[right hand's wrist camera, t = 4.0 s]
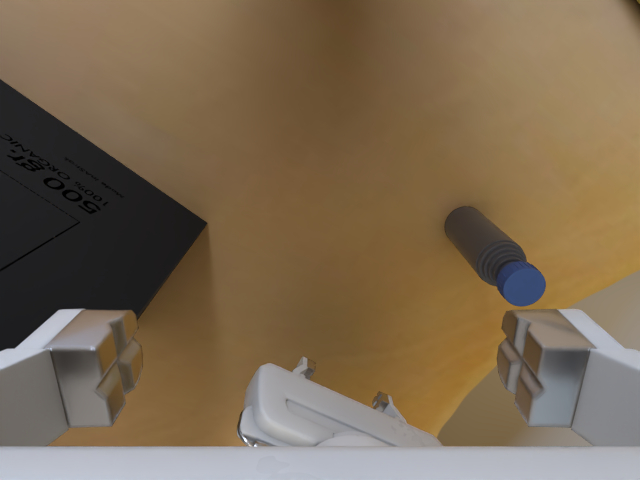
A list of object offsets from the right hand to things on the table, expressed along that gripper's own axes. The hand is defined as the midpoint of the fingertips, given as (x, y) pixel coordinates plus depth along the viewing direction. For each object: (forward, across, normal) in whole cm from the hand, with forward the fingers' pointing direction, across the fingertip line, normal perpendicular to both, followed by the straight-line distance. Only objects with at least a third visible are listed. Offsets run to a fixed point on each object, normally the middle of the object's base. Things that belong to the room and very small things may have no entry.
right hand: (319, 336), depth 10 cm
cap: (+30, -19, +13) cm, 38 cm away
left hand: (+32, -3, +26) cm, 41 cm away
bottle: (+48, -19, +13) cm, 53 cm away
